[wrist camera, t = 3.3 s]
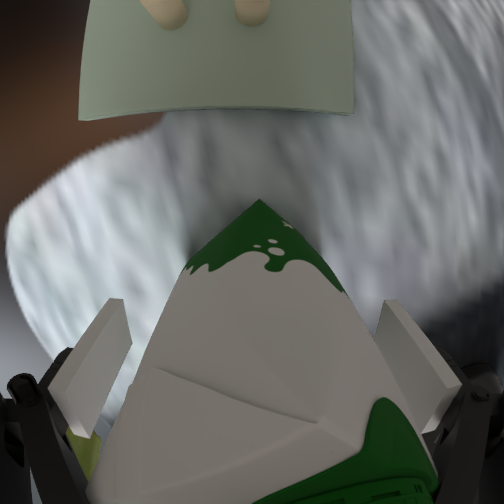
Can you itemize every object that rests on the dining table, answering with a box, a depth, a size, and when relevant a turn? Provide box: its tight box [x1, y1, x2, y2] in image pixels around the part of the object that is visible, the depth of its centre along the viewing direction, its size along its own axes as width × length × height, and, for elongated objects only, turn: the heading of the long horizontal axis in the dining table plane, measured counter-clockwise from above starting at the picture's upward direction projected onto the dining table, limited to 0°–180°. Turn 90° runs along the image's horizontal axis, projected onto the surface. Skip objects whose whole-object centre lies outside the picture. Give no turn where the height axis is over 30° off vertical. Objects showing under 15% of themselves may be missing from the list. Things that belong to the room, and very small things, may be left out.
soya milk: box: [85, 199, 439, 504], centre depth 13 cm, size 9×9×20 cm
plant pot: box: [66, 427, 101, 483], centre depth 26 cm, size 9×9×9 cm
